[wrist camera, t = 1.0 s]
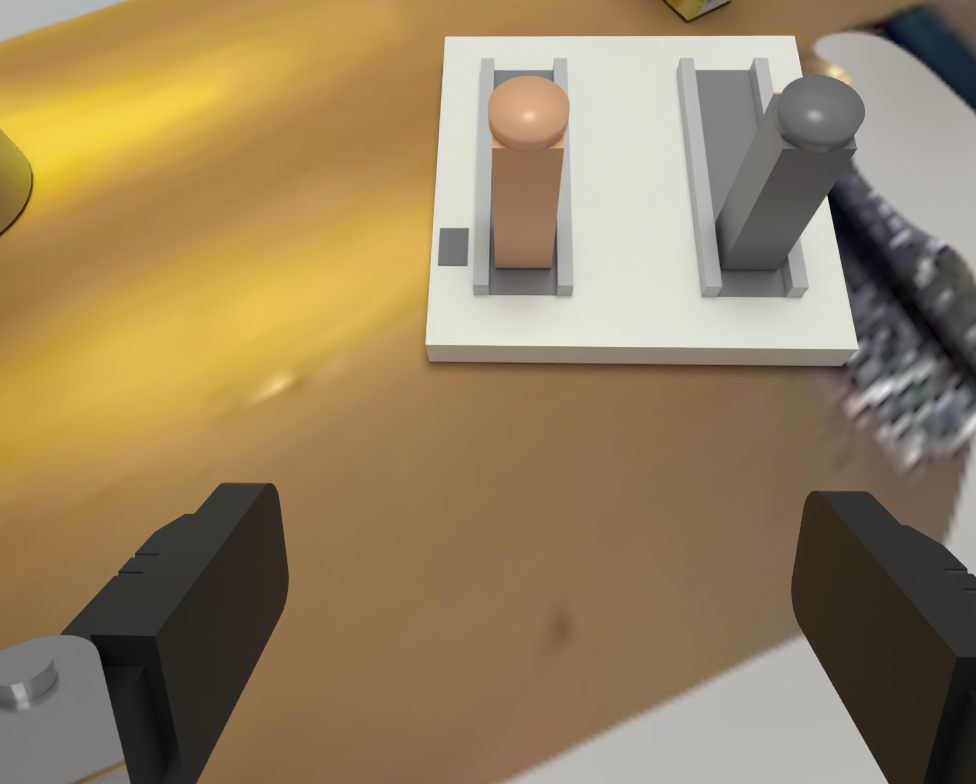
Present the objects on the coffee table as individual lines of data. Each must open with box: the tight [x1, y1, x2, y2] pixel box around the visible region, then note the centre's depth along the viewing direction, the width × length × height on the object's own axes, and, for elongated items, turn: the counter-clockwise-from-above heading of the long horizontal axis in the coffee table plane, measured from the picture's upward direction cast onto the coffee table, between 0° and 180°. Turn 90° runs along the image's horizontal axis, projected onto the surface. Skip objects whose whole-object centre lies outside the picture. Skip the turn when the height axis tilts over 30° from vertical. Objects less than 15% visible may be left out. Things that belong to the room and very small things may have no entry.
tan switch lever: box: [488, 76, 570, 268], centre depth 34 cm, size 3×3×10 cm
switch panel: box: [425, 36, 858, 366], centre depth 41 cm, size 22×22×3 cm
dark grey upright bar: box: [715, 75, 865, 270], centre depth 33 cm, size 3×3×10 cm
